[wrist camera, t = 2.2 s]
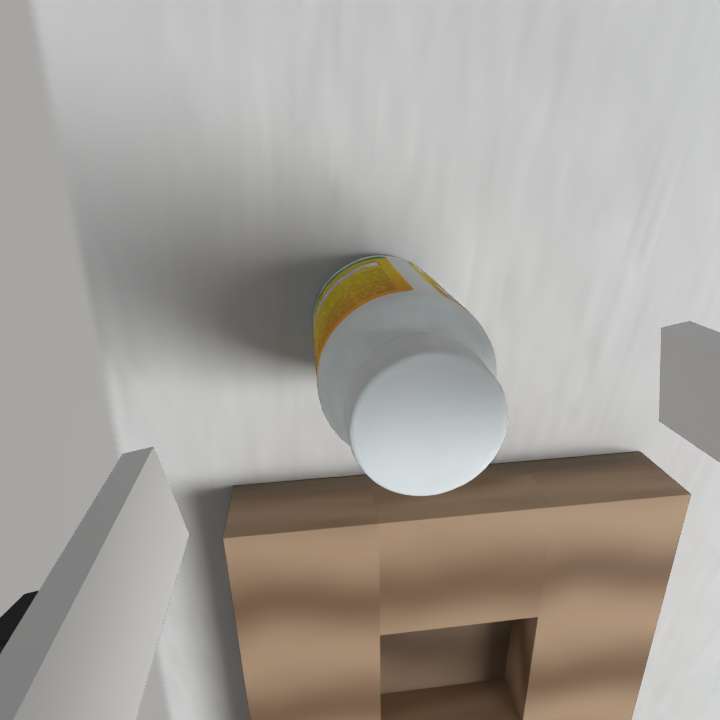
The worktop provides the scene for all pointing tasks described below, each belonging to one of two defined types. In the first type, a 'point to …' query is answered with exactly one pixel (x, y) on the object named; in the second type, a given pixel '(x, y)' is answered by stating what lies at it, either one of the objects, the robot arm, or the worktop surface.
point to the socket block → (454, 592)
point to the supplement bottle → (406, 377)
